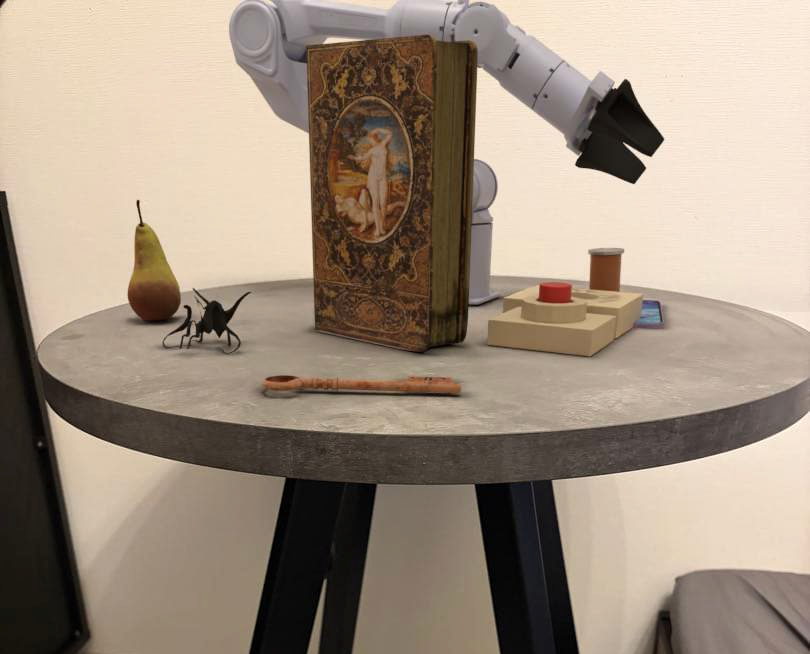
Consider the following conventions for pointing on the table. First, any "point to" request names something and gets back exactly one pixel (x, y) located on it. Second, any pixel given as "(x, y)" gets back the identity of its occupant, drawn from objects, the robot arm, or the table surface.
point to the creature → (209, 321)
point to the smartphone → (650, 315)
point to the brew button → (555, 292)
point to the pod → (605, 269)
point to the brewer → (594, 304)
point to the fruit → (152, 278)
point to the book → (392, 188)
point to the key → (364, 384)
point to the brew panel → (552, 327)
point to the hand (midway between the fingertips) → (648, 162)
